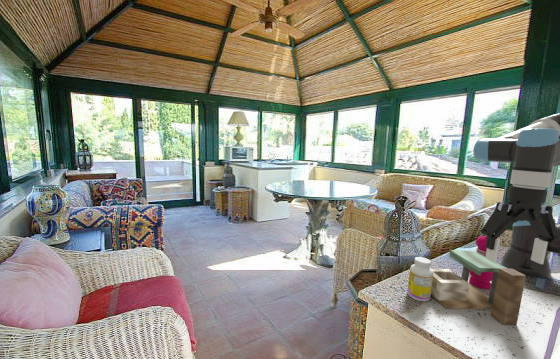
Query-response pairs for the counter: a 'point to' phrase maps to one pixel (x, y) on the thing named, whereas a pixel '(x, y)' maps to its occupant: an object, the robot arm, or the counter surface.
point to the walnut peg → (508, 296)
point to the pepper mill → (485, 277)
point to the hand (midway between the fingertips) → (513, 261)
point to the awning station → (464, 282)
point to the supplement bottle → (420, 279)
